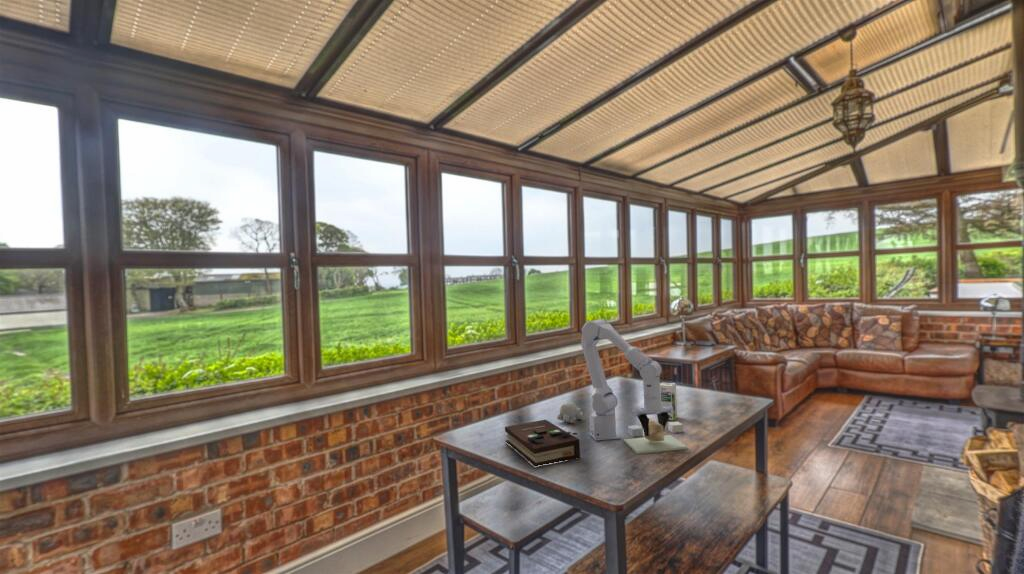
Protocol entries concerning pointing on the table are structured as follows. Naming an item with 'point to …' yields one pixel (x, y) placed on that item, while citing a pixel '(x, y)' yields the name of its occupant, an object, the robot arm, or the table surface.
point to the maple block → (655, 432)
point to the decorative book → (543, 442)
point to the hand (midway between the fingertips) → (653, 434)
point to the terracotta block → (649, 421)
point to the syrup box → (669, 398)
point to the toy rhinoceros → (569, 412)
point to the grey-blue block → (635, 430)
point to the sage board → (654, 445)
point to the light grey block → (675, 427)
